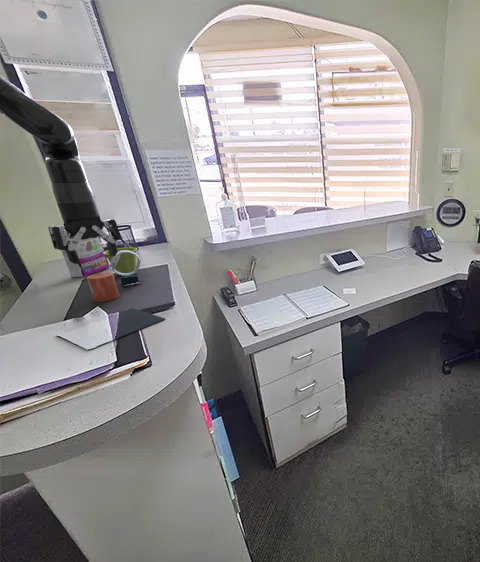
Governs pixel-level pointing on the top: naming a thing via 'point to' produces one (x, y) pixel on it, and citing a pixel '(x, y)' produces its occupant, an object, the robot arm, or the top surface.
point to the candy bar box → (86, 257)
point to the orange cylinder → (103, 286)
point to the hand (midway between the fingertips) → (95, 259)
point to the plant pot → (124, 260)
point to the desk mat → (135, 321)
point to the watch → (130, 276)
